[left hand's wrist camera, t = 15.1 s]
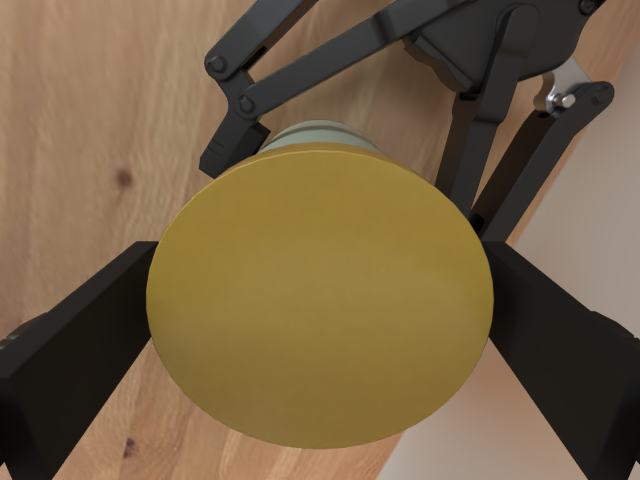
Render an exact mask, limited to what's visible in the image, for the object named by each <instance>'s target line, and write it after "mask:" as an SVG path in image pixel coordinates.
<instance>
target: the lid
mask: <svg viewBox="0 0 640 480" xmlns="http://www.w3.org/2000/svg"><path fill="white" fill-rule="evenodd" d="M493 305H494V295H493V280H492V276H491V272H490V267H489V263H488V259H487V257H486V254H485V252H484V249H483V247H482V244H481V242H480V240H479V238H478V236H477V235H476V233H475V231H474V230H473V228H472V226H471V225H470V223H469V221H468V220H467V219H466V218H465V216H464V215H463V214H462V213H461V212H460V210H459V209H458V208H457V207H456V206H455V204H454V203H453V202H451V201H450V200H449V199H448V198H447V197H446V196H445V195H444V194H443V193H441V192H440V191H439V190H438V189H437V188H436V187H435V186H433V185H432V184H431V183H430V182H428V181H427V180H426V179H425V178H423V177H422V176H421V175H420V174H418V173H417V172H415V171H414V170H412V169H411V168H409V167H408V166H406V165H405V164H403V163H401V162H399V161H397V160H395V159H393V158H391V157H389V156H387V155H384V154H382V153H379V152H376V151H373V150H370V149H367V148H364V147H360V146H354V145H349V144H343V143H335V142H307V143H297V144H290V145H285V146H281V147H277V148H273V149H269V150H266V151H264V152H261V153H259V154H256V155H253V156H251V157H248V158H247V159H245V160H243V161H241V162H239V163H238V164H236V165H234V166H232V167H230V168H229V169H227V170H226V171H225V172H224V173H222V174H221V175H220V176H218V177H217V178H216V179H214V180H213V181H212V182H210V183H209V184H208V185H207V186H206V187H204V188H203V189H202V190H201V191H199V192H198V193H197V194H196V195H195V196H194V197H193V198H192V199H191V200H190V201H189V202H188V203H187V204H186V205H185V206H184V207H183V208H182V209H181V210H180V211H179V212H178V214H177V215H176V216H175V218H174V219H173V220H172V222H171V223H170V225H169V226H168V227H167V229H166V230H165V232H164V234H163V236H162V238H161V240H160V242H159V244H158V246H157V248H156V251H155V254H154V257H153V260H152V263H151V266H150V269H149V276H148V282H147V289H146V310H147V317H148V323H149V329H150V333H151V336H152V339H153V342H154V345H155V348H156V350H157V352H158V354H159V357H160V359H161V361H162V363H163V365H164V366H165V368H166V370H167V371H168V373H169V374H170V376H171V377H172V379H173V380H174V381H175V383H176V384H177V385H178V386H179V387H180V389H181V390H182V391H183V392H184V393H185V394H186V395H187V396H188V397H189V398H190V399H191V400H192V401H193V402H194V403H195V404H196V405H197V406H198V407H200V408H201V409H202V410H204V411H205V412H206V413H208V414H209V415H210V416H212V417H213V418H215V419H216V420H218V421H220V422H221V423H223V424H225V425H227V426H228V427H230V428H232V429H234V430H236V431H239V432H241V433H243V434H245V435H248V436H250V437H253V438H256V439H259V440H262V441H265V442H269V443H274V444H278V445H283V446H288V447H296V448H304V449H333V448H345V447H351V446H357V445H363V444H367V443H370V442H374V441H378V440H381V439H384V438H387V437H389V436H392V435H395V434H397V433H400V432H402V431H404V430H406V429H408V428H410V427H412V426H414V425H416V424H417V423H419V422H420V421H422V420H423V419H425V418H427V417H428V416H430V415H431V414H432V413H434V412H435V411H436V410H438V409H439V408H440V407H441V406H442V405H444V404H445V403H446V402H447V401H448V400H449V399H450V398H451V397H452V396H453V395H454V394H455V393H456V392H457V391H458V390H459V389H460V388H461V386H462V385H463V384H464V382H465V381H466V380H467V378H468V377H469V376H470V374H471V373H472V371H473V369H474V368H475V366H476V364H477V362H478V361H479V359H480V357H481V355H482V352H483V350H484V347H485V345H486V342H487V340H488V336H489V332H490V328H491V323H492V317H493Z"/></svg>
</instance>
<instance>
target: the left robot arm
mask: <svg viewBox="0 0 640 480" xmlns="http://www.w3.org/2000/svg"><path fill="white" fill-rule="evenodd" d="M158 244H159V242H158V241H136V242H135V243H134V244H133V245H131V246H130V247H129V248H128V249H126V250H125V251H124V252H123V253H121V254H120V255H119V256H118V257H116V258H115V259H114V260H113V261H111V262H110V263H109V264H108V265H106V266H105V267H104V268H103V269H101V270H100V271H99V272H98V273H96V274H95V275H94V276H93V277H91V278H90V279H89V280H88V281H86V282H85V283H84V284H83V285H81V286H80V287H79V288H78V289H76V290H75V291H74V292H73V293H71V294H70V295H69V296H68V297H66V298H65V299H64V300H63V301H61V302H60V303H59V304H58V305H56V306H55V307H54V308H53V309H51V310H50V311H49V312H48V313H43V314H41V315H40V316H38V317H36V318H34V319H32V320H30V321H28V322H26V323H24V324H22V325H21V326H20V327H18V328H17V329H16V330H14V331H13V332H12V333H11V334H9V335H8V336H7V338H6V339H3V340H2V341H0V466H1V465H2V464H3V463H4V462H5V464H6V466H7V469H8V471H9V473H10V475H11V478H12V480H52V479H53V477H54V476H55V475H56V473H57V472H58V470H59V469H60V467H61V466H62V464H63V463H64V462H65V460H66V459H67V457H68V456H69V454H70V453H71V452H72V450H73V449H74V447H75V446H76V444H77V443H78V441H79V440H80V439H81V437H82V436H83V434H84V433H85V431H86V430H87V429H88V427H89V426H90V424H91V423H92V421H93V420H94V418H95V417H96V416H97V414H98V413H99V411H100V410H101V408H102V407H103V406H104V404H105V403H106V401H107V400H108V398H109V397H110V395H111V394H112V393H113V391H114V390H115V388H116V387H117V385H118V384H119V383H120V381H121V380H122V378H123V377H124V375H125V374H126V372H127V371H128V370H129V368H130V367H131V365H132V364H133V362H134V361H135V360H136V358H137V357H138V355H139V354H140V352H141V351H142V349H143V348H144V347H145V345H146V344H147V342H148V341H149V339H150V338H151V337H152V336H151V333H150V329H149V323H148V317H147V310H146V289H147V282H148V276H149V269H150V266H151V263H152V260H153V257H154V254H155V251H156V248H157V246H158ZM481 244H482V247H483V249H484V252H485V254H486V257H487V259H488V263H489V267H490V272H491V276H492V280H493V295H494V305H493V317H492V323H491V328H490V332H489V336H488V337H489V338H490V339H491V341H492V342H493V344H494V345H495V347H496V348H497V349H498V351H499V352H500V354H501V355H502V357H503V358H504V360H505V361H506V362H507V364H508V365H509V367H510V368H511V370H512V371H513V372H514V374H515V375H516V377H517V378H518V380H519V381H520V383H521V384H522V385H523V387H524V388H525V390H526V391H527V393H528V394H529V395H530V397H531V398H532V400H533V401H534V403H535V404H536V405H537V407H538V408H539V410H540V411H541V413H542V414H543V416H544V417H545V418H546V420H547V421H548V423H549V424H550V426H551V427H552V429H553V430H554V431H555V433H556V434H557V436H558V437H559V438H560V440H561V441H562V443H563V444H564V446H565V447H566V449H567V450H568V452H569V453H570V454H571V456H572V457H573V459H574V460H575V462H576V463H577V464H578V466H579V467H580V469H581V470H582V472H583V473H584V474H585V476H586V477H587V479H588V480H628V478H629V475H630V473H631V471H632V469H633V466H634V464H635V462H636V461H637V462H638V463H639V464H640V339H638V338H634V335H633V334H632V333H630V332H629V331H628V330H627V329H625V328H624V327H623V326H621V325H620V324H619V323H617V322H616V321H614V320H612V319H610V318H608V317H606V316H604V315H602V314H600V313H598V312H596V311H590V310H589V309H587V308H586V307H585V306H584V305H582V304H581V303H580V302H579V301H577V300H576V299H575V298H574V297H572V296H571V295H570V294H569V293H567V292H566V291H565V290H564V289H562V288H561V287H560V286H559V285H557V284H556V283H555V282H554V281H552V280H551V279H550V278H549V277H547V276H546V275H545V274H544V273H542V272H541V271H540V270H539V269H537V268H536V267H535V266H534V265H532V264H531V263H530V262H529V261H527V260H526V259H525V258H524V257H522V256H521V255H520V254H519V253H517V252H516V251H515V250H514V249H512V248H511V247H510V246H509V245H507V244H506V243H505V242H504V241H482V242H481Z"/></svg>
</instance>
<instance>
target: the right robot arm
mask: <svg viewBox="0 0 640 480" xmlns="http://www.w3.org/2000/svg"><path fill="white" fill-rule="evenodd" d="M318 1H319V0H257V1H256V2H255V3H254V4H253V5H252V6H251V7H250V8H249V10H248V11H247V12H246V13H245V14H244V15H243V16H242V17H241V18H240V19H239V20H238V21H237V22H236V23H235V24H234V25H233V26H232V28H231V29H230V30H229V31H228V32H227V33H226V34H225V35H224V36H223V37H222V38H221V39H220V40H219V41H218V42H217V43H216V45H215V46H214V47H213V48H212V49H211V50H210V51H209V52H208V53H207V55H206V57H205V61H204V65H205V70H206V71H207V73H208V75H209V76H211V77H212V78H213V79H215V81H216V82H217V83H218V85H219V86H220V88H221V89H222V90H223V92H224V93H225V95H226V97H227V100H228V106H229V107H228V112H227V114H226V116H225V118H224V119H223V121H222V123H221V124H220V126H219V128H218V129H217V131H216V133H215V134H214V136H213V138H212V140H211V141H210V143H209V144H208V146H207V148H206V149H205V151H204V153H203V154H202V156H201V158H200V164H199V169H200V170H201V171H203V172H204V173H206V174H207V175H209V176H210V177H212V178H213V179H216V178H217V177H218V176H220V175H221V174H222V173H224V172H225V171H226V170H227V169H229V168H230V167H232V166H234V165H236V164H238V163H239V162H241V161H243V160H245V159H247V158H248V157H251V156H253V155H256V154H257V152H258V151H259V149H260V148H261V146H262V144H263V143H264V141H265V140H266V138H267V137H268V135H269V134H270V132H271V131H270V130H269V129H267V128H266V127H265V126H263V125H262V124H260V123H259V120H260V119H261V117H262V116H263V115H264V114H266V113H268V112H269V111H271V110H273V109H275V108H277V107H278V106H280V105H282V104H284V103H286V102H287V101H289V100H291V99H293V98H295V97H297V96H298V95H300V94H302V93H304V92H306V91H307V90H309V89H311V88H313V87H315V86H316V85H318V84H320V83H322V82H324V81H325V80H327V79H329V78H331V77H333V76H335V75H336V74H338V73H340V72H342V71H344V70H345V69H347V68H349V67H351V66H353V65H354V64H356V63H358V62H360V61H362V60H364V59H365V58H367V57H369V56H371V55H373V54H374V53H376V52H378V51H380V50H382V49H384V48H386V47H388V46H389V45H391V44H393V43H395V42H397V41H398V40H400V39H402V40H403V43H404V44H405V46H406V47H405V48H404V50H405V51H406V52H408V53H409V54H410V55H411V56H412V57H413V58H414V59H416V60H418V61H420V62H422V63H424V64H427V65H429V66H431V67H432V68H433V70H434V71H435V73H436V74H437V76H438V78H439V79H440V81H441V82H442V83H443V84H444V85H446V86H447V87H448V88H449V89H450V90H451V91H457V93H456V97H455V100H454V104H453V108H452V115H453V120H452V124H451V127H450V131H449V135H448V138H447V142H446V145H445V149H444V153H443V156H442V160H441V164H440V167H439V171H438V174H437V178H436V182H435V185H434V186H435V187H436V188H437V189H438V190H439V191H440V192H441V193H443V194H444V195H445V196H446V197H447V198H448V199H449V200H450V201H451V202H453V203H454V204H455V206H456V207H457V208H458V209H459V210H460V212H461V213H462V214H463V215H464V216H465V218H466V219H467V220H468V221H469V223H470V225H471V226H472V228H473V230H474V231H475V233H476V235H477V236H478V238H479V240H480V242H482V241H504V242H506V240H507V238H508V237H509V235H510V234H511V232H512V231H513V229H514V228H515V226H516V225H517V223H518V222H519V220H520V218H521V217H522V215H523V214H524V212H525V211H526V209H527V208H528V206H529V205H530V203H531V202H532V200H533V199H534V197H535V195H536V194H537V192H538V191H539V189H540V188H541V186H542V185H543V183H544V182H545V180H546V179H547V177H548V175H549V174H550V172H551V171H552V169H553V168H554V166H555V165H556V163H557V162H558V160H559V159H560V157H561V155H562V154H563V152H564V151H565V149H566V148H567V146H568V145H569V143H570V142H571V140H572V139H573V137H574V136H575V135H576V134H577V133H578V132H579V131H580V130H582V129H583V128H584V127H585V126H586V125H587V124H588V123H589V122H591V121H592V120H593V119H594V118H595V117H596V116H597V115H599V114H600V113H601V112H602V111H603V110H604V109H605V108H606V107H608V106H609V104H610V103H611V102H612V100H613V97H614V88H613V85H611V84H610V83H609V82H605V81H599V82H593V81H591V80H590V78H589V77H588V76H587V74H586V73H585V72H584V70H583V69H582V68H581V66H580V65H579V63H578V62H577V61H576V59H575V58H574V57H573V55H572V54H573V52H574V50H575V48H576V46H577V42H578V39H579V36H580V34H581V31H582V29H583V27H584V25H585V24H586V22H587V20H588V19H589V18H590V16H591V15H592V14H593V13H594V12H595V11H596V10H597V9H598V8H599V7H600V6H601V5H602V4H603V3H604V2H605V1H606V0H397V1H396V2H394V3H392V4H390V5H389V6H387V7H385V8H383V9H382V10H380V11H379V12H377V13H376V14H375V15H373V16H372V17H370V18H368V19H367V20H365V21H363V22H361V23H360V24H358V25H356V26H354V27H353V28H351V29H349V30H347V31H346V32H344V33H342V34H340V35H339V36H337V37H335V38H333V39H332V40H330V41H328V42H326V43H325V44H323V45H321V46H319V47H318V48H316V49H314V50H312V51H311V52H309V53H307V54H305V55H304V56H302V57H300V58H298V59H297V60H295V61H293V62H291V63H290V64H288V65H286V66H284V67H283V68H281V69H279V70H277V71H276V72H274V73H272V74H270V75H269V76H267V77H265V78H263V79H262V80H260V81H258V82H256V83H255V82H254V81H253V79H252V78H251V76H250V75H249V73H248V71H249V70H250V69H251V68H252V67H253V66H254V65H255V64H256V63H257V62H258V61H259V60H260V59H261V58H262V57H263V56H264V55H265V54H266V53H267V52H268V51H269V50H270V49H271V48H272V47H273V46H274V45H275V44H276V43H277V42H278V41H279V40H280V39H281V38H282V37H283V36H284V35H285V34H286V33H287V32H288V31H289V30H290V29H291V28H292V27H293V26H294V25H295V24H296V23H297V22H298V21H299V20H300V19H301V18H302V17H303V16H304V15H305V14H306V13H307V12H308V11H309V10H310V9H311V8H312V7H313V6H314V5H315V4H316V3H317V2H318ZM538 75H542V77H543V85H542V88H541V90H540V91H539V93H538V94H537V95H536V96H535V97H534V99H533V104H534V105H535V108H536V109H535V110H534V111H533V112H532V113H531V114H530V115H529V116H528V118H527V119H526V120H525V121H524V123H523V124H522V126H521V127H520V129H519V130H518V132H517V134H516V135H515V137H514V139H513V140H512V142H511V144H510V145H509V147H508V149H507V150H506V152H505V154H504V155H503V157H502V159H501V160H500V162H499V164H498V166H497V167H496V169H495V171H494V172H493V174H492V176H491V177H490V179H489V181H488V182H487V184H486V186H485V187H484V189H483V191H482V192H481V194H480V196H479V197H478V199H477V201H476V203H475V204H474V206H473V208H472V209H471V207H472V204H473V201H474V198H475V195H476V192H477V189H478V186H479V183H480V179H481V176H482V173H483V170H484V167H485V164H486V161H487V158H488V155H489V151H490V148H491V145H492V142H493V139H494V136H495V133H496V130H497V127H498V126H499V124H501V123H502V122H503V121H504V119H505V118H506V115H507V113H508V110H509V107H510V104H511V101H512V98H513V95H514V92H515V88H516V85H517V82H520V81H523V80H526V79H529V78H532V77H535V76H538Z"/></svg>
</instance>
